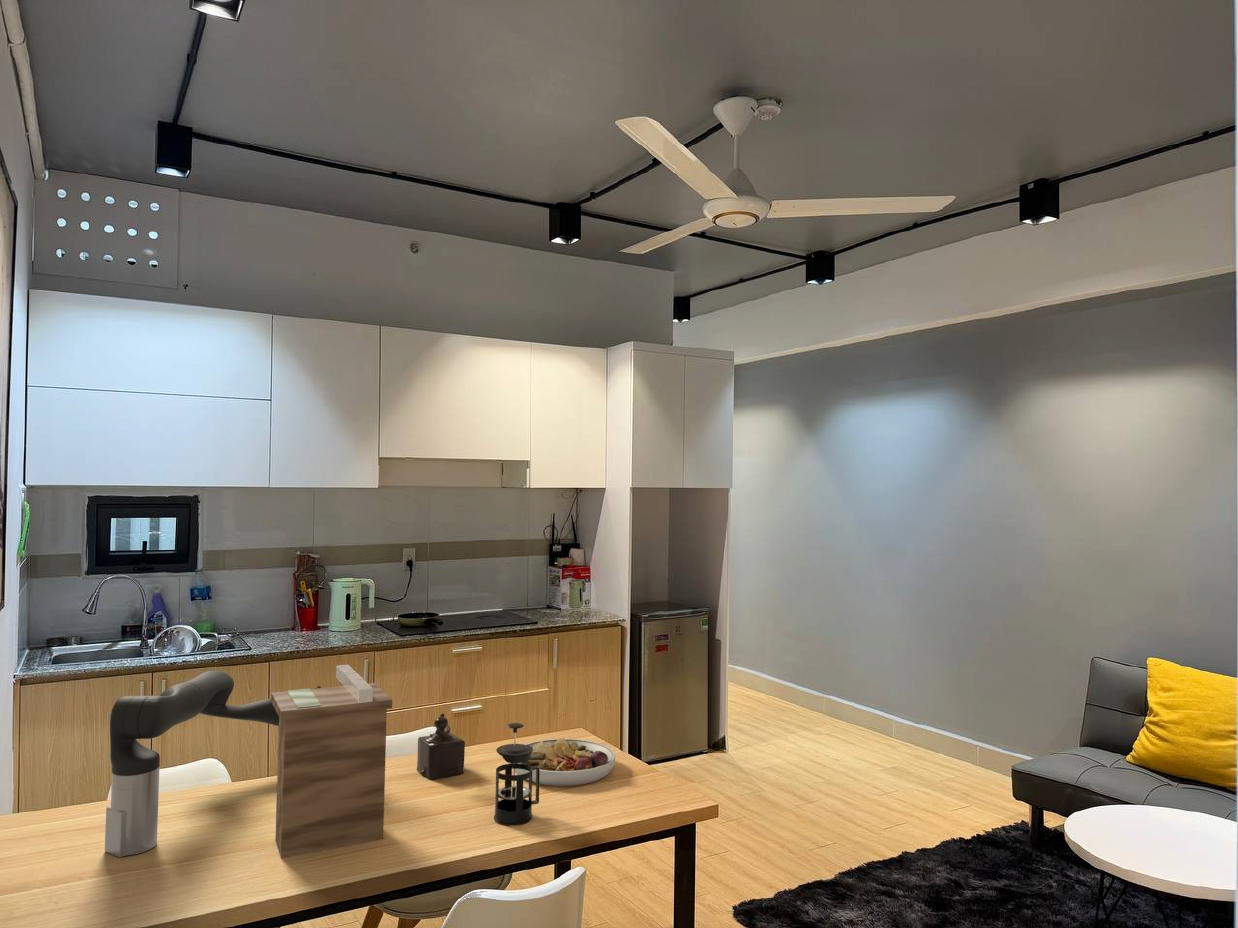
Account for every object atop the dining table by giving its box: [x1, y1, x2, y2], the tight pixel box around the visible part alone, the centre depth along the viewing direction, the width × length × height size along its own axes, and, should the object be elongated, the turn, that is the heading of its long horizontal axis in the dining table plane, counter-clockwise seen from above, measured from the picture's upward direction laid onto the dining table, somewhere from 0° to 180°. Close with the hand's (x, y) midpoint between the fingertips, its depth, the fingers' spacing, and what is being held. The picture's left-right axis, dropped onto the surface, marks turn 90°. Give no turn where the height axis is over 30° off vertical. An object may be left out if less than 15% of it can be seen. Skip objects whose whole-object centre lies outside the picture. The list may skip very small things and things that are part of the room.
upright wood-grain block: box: [270, 682, 393, 859], centre depth 193 cm, size 18×24×32 cm
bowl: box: [515, 737, 616, 787], centre depth 240 cm, size 30×30×8 cm
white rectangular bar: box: [335, 664, 373, 703], centre depth 201 cm, size 28×3×3 cm, turn 29°
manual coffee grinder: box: [416, 712, 466, 781], centre depth 235 cm, size 16×11×18 cm
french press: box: [493, 722, 540, 827], centre depth 205 cm, size 12×9×23 cm
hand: (336, 687), depth 220 cm, fingers open, 8 cm apart
